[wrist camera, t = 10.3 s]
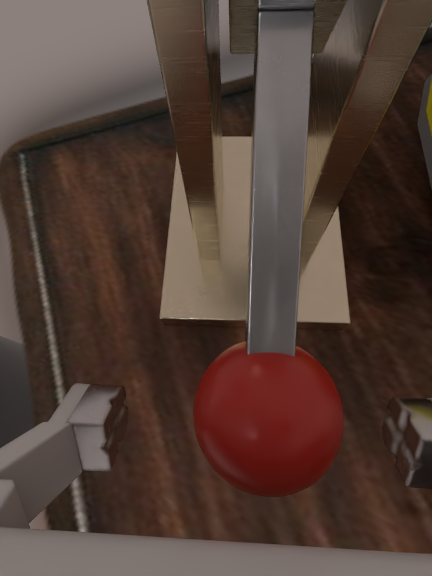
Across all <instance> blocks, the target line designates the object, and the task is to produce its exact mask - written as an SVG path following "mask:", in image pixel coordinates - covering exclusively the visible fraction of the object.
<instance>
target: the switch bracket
mask: <svg viewBox="0 0 432 576" xmlns="http://www.w3.org/2000/svg"><path fill="white" fill-rule="evenodd" d="M147 4H148V9H149V14H150V19H151V24H152V29H153V34H154V39H155V44H156V49H157V54H158V59H159V64H160V69H161V74H162V79H163V84H164V89H165V94H166V99H167V104H168V109H169V114H170V119H171V124H172V129H173V134H174V139H175V144H176V149H177V154H176V163H175V173H174V182H173V192H172V202H171V211H170V221H169V230H168V240H167V249H166V259H165V269H164V278H163V288H162V297H161V307H160V316H159V317H160V319H161V321H162V322H163V323H164V325H182V326H215V327H246V301H247V269H248V237H249V205H250V173H251V141H252V136H222V111H221V77H220V41H219V8H218V7H219V5H218V0H147ZM431 22H432V0H347V2H346V4H345V6H344V8H343V10H342V12H341V14H340V16H339V18H338V20H337V23H336V25H335V27H334V29H333V31H332V33H331V35H330V37H329V39H328V41H327V43H326V45H325V47H324V49H323V51H322V53H314V56H313V61H312V71H311V88H310V106H309V123H308V141H307V158H306V175H305V193H304V210H303V228H302V245H301V263H300V280H299V298H298V315H297V329H314V330H343V329H344V328H345V327H347V326H348V325H349V324H350V323H351V322H350V312H349V303H348V293H347V283H346V274H345V264H344V255H343V245H342V236H341V226H340V216H339V207H338V205H339V203H340V201H341V199H342V197H343V195H344V193H345V191H346V189H347V187H348V185H349V183H350V181H351V179H352V177H353V175H354V173H355V171H356V169H357V167H358V165H359V164H360V162H361V160H362V158H363V156H364V154H365V152H366V150H367V148H368V146H369V144H370V142H371V140H372V138H373V136H374V134H375V132H376V130H377V128H378V126H379V124H380V122H381V120H382V118H383V117H384V115H385V113H386V111H387V109H388V107H389V105H390V103H391V101H392V99H393V97H394V95H395V93H396V91H397V89H398V87H399V85H400V83H401V81H402V79H403V77H404V75H405V73H406V71H407V70H408V68H409V66H410V64H411V62H412V60H413V58H414V56H415V54H416V52H417V50H418V48H419V46H420V44H421V42H422V40H423V38H424V36H425V34H426V32H427V30H428V28H429V26H430V25H431Z"/></svg>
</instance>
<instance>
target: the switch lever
mask: <svg viewBox="0 0 432 576" xmlns="http://www.w3.org/2000/svg"><path fill="white" fill-rule="evenodd" d="M346 2H347V0H229V25H230V52H231V54H254V76H253V108H252V141H251V173H250V205H249V237H248V269H247V301H246V333H245V341H244V342H241V343H238V344H236V345H234V346H232V347H230V348H228V349H227V350H225V351H224V352H223V353H221V354H220V355H219V356H218V357H217V358H216V359H215V360H214V361H213V362H212V363H211V364H210V366H209V367H208V368H207V370H206V371H205V373H204V374H203V376H202V378H201V380H200V383H199V386H198V388H197V391H196V395H195V400H194V411H193V416H194V427H195V432H196V436H197V439H198V442H199V445H200V447H201V450H202V452H203V454H204V455H205V457H206V459H207V460H208V462H209V463H210V465H211V466H212V467H213V469H214V470H215V471H216V472H217V473H218V474H219V475H220V476H221V477H222V478H224V479H225V480H226V481H227V482H229V483H230V484H232V485H233V486H235V487H236V488H238V489H240V490H242V491H245V492H248V493H250V494H254V495H258V496H266V497H279V496H286V495H290V494H294V493H297V492H299V491H302V490H304V489H306V488H308V487H309V486H311V485H312V484H314V483H315V482H316V481H317V480H318V479H320V478H321V477H322V476H323V474H324V473H325V472H326V471H327V470H328V468H329V467H330V466H331V464H332V463H333V461H334V459H335V457H336V455H337V453H338V450H339V447H340V443H341V440H342V435H343V409H342V404H341V400H340V396H339V393H338V391H337V388H336V386H335V384H334V382H333V380H332V378H331V377H330V375H329V373H328V372H327V371H326V370H325V368H324V367H323V366H322V365H321V364H320V363H319V361H318V360H316V359H315V358H314V357H313V356H312V355H311V354H309V353H308V352H306V351H305V350H303V349H302V348H300V347H298V346H296V333H297V315H298V298H299V280H300V263H301V245H302V228H303V210H304V193H305V175H306V158H307V141H308V123H309V106H310V88H311V71H312V53H322V51H323V49H324V47H325V45H326V43H327V41H328V39H329V37H330V35H331V33H332V31H333V29H334V27H335V25H336V23H337V20H338V18H339V16H340V14H341V12H342V10H343V8H344V6H345V4H346Z"/></svg>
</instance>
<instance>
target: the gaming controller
mask: <svg viewBox="0 0 432 576" xmlns="http://www.w3.org/2000/svg"><path fill="white" fill-rule="evenodd" d="M417 125H418V129H419V134H420V138H421V143H422V148H423V152H424V157H425V161H426V166H427V171H428V175H429V180H430V184H431V189H432V73H431V75H430V76H429V77H428V78H427V80H426V81H425V83H424V89H423V94H422V100H421V106H420V111H419V117H418V123H417Z"/></svg>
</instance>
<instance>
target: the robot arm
mask: <svg viewBox="0 0 432 576" xmlns="http://www.w3.org/2000/svg"><path fill="white" fill-rule="evenodd" d="M125 397H126V393H125V388H124V387H123V386H115V385H100V384H80V383H76V384H74V385H73V386H72V387H71V388H70V390H69V391H68V393H67V394H66V396H65V397H64V399H63V400H62V402H61V403H60V405H59V406H58V408H57V409H56V411H55V412H54V414H53V415H52V417H51V418H50V420H49V421H48V422H42V423H41V424H39V425H38V426H36V427H34V428H33V429H31V430H29V431H28V432H26V433H24V434H23V435H21V436H20V437H18V438H16V439H15V440H13V441H11V442H10V443H8V444H7V445H5V446H3V447H2V448H0V576H432V554H422V553H406V552H389V551H373V550H357V549H340V548H324V547H308V546H293V545H277V544H261V543H246V542H230V541H214V540H199V539H183V538H167V537H151V536H135V535H119V534H103V533H87V532H71V531H55V530H39V529H30V526H29V523H30V522H31V521H32V520H33V519H34V518H35V517H36V516H37V515H38V514H39V513H40V512H41V511H42V510H43V509H44V508H45V507H46V506H47V505H49V504H50V503H51V502H52V501H53V500H54V499H55V498H56V497H57V496H58V495H59V494H60V493H61V492H62V491H63V490H64V489H65V488H66V487H67V486H68V485H69V484H70V483H71V482H72V481H74V480H75V479H76V478H77V477H78V476H79V475H80V474H81V473H82V470H90V471H111V470H112V468H113V465H114V462H115V460H116V457H117V455H118V452H119V449H118V443H119V442H120V441H121V440H123V439H124V436H125V433H126V429H127V424H128V407H127V406H126V405H125V404H124V403H123V402H124V400H125ZM387 408H388V410H389V411H390V413H391V414H389V415H388V416H387V417H386V418H384V422H383V426H382V433H383V440H384V443H385V446H386V448H387V450H388V452H389V453H390V454H392V455H393V456H394V457H395V458H397V460H396V463H395V467H396V469H397V471H398V473H399V475H400V477H401V479H402V481H403V483H404V485H405V487H413V488H425V489H432V398H427V399H425V398H398V397H392V398H391V399H390V401H389V403H388V407H387Z"/></svg>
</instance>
